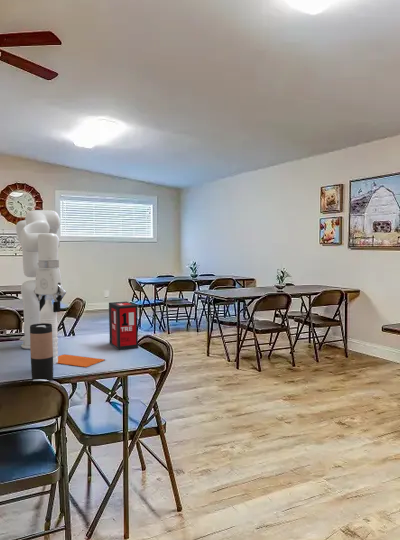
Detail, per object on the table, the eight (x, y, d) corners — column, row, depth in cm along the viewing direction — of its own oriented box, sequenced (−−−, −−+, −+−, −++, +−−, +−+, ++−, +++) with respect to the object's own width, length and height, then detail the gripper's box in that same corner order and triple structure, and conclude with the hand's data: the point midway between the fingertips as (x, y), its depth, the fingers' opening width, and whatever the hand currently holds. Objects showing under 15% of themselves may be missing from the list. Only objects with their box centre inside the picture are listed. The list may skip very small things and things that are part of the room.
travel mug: (34, 377, 171) (32, 323, 170) (55, 376, 172) (54, 323, 171) (28, 383, 164) (26, 327, 162) (51, 383, 164) (49, 326, 163)
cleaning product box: (109, 343, 228) (108, 302, 227) (127, 341, 232) (126, 301, 231) (119, 350, 213) (118, 306, 212) (137, 348, 217) (137, 305, 216)
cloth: (43, 361, 194) (43, 360, 194) (64, 355, 205) (64, 354, 205) (85, 367, 184) (85, 366, 184) (104, 360, 195) (104, 359, 195)
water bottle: (42, 365, 178) (41, 300, 176) (39, 362, 183) (38, 298, 182) (65, 363, 182) (64, 299, 180) (61, 359, 187) (61, 297, 186)
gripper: (24, 265, 181) (26, 311, 182) (59, 266, 173) (60, 314, 174) (39, 264, 187) (40, 308, 189) (72, 265, 180) (74, 311, 181)
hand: (50, 310), depth 181 cm, fingers closed on water bottle, 6 cm apart
